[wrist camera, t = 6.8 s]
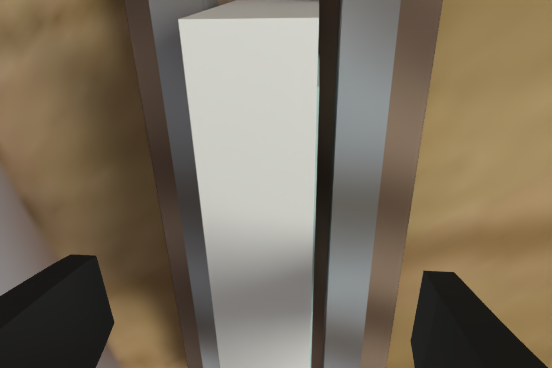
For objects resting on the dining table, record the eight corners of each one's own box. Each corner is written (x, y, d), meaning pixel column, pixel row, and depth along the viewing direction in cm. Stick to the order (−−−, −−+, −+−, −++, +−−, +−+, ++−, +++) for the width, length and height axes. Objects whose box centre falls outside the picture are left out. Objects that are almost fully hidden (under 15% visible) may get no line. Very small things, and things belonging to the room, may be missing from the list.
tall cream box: (312, 294, 18) (309, 428, 13) (252, 291, 18) (225, 421, 13) (320, -1, 13) (322, 17, 7) (234, 0, 13) (175, 18, 8)
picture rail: (380, 368, 21) (389, 424, 19) (193, 355, 22) (176, 407, 20) (460, -179, 11) (503, -226, 9) (110, -160, 12) (52, -197, 9)
